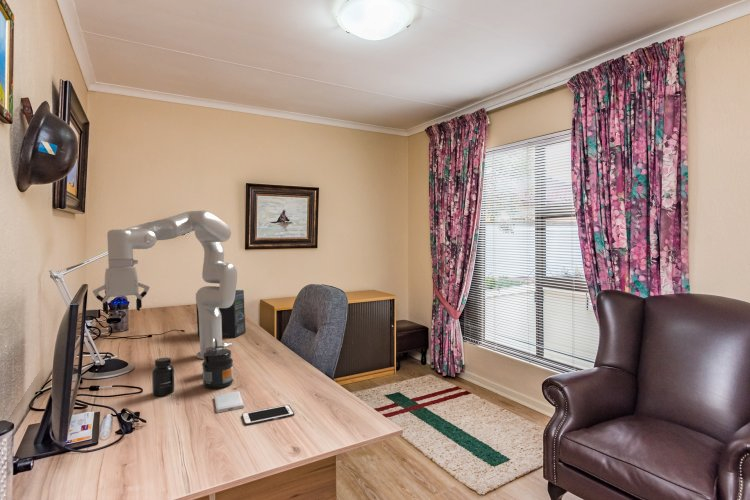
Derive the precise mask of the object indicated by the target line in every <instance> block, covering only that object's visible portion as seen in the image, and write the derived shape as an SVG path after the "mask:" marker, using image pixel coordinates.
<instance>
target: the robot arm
mask: <svg viewBox="0 0 750 500" xmlns="http://www.w3.org/2000/svg"><path fill="white" fill-rule="evenodd" d="M191 232H194V236H195V237H196V240H198V241H199V243H200V244H201V246H202V248H203V252H204V253H203V254H204V255H203V264H202V273H201V277H202V280H203V281H204V282H205V283H207V284H208V283H209V284H219V286H214V285H206V286H202V287H200V288H198V290H197V291H196V293H195V302H196V303H197V307H198V312H199V336H200V337H199V351H198V352H197V353H196V358H197V359H199V360H204V359H203V354H204V353H205V349H206V348H208V347H212V339H214V346H215V339H217V346H223V347H224V349H228V348H232V347H233V344H232V342H229V343H226V342H225V343H224V342H223V337H222V318H221V313H220V310H219V308H229V307H230V306H231V305H232V304H233V302H234V299H235V293H236V290H237V284H238V283H237V282H238V270H237V268H236V266H235V265H234V264H233V263H230V262H224V261H225V260H224V259H225V250H224V248H223V247H224V246H223V245H222V244H221V243H225V242H227V241H229V239H231V237H232V230H231V227H230V226H229V225H228V224H227V223H226V222H224V221H223V220H222V219H220V218H219V217H217V216H216V215H215V214H213V213H211V212H209V211H207V210H190V211H185V212H181V213H178V214H174V215H172V216H169V217H165V218H162V219H157V220H153V221H149V222H145V223H141V224H137V225H133V226H130V227H127V228H124V229H118V228H117V229H110V230H108V231H107V234H106V236H107V240H106V241H107V257H108V258H107V259H108V260H107V261H108V263H107V264H108V267H107V268H105V271H104V273H105V274H104V284H102V285H101V286H99V287H97V288H95V289H93V290H92V293H93V295H94V296H95V298H96V299H97V300H99V301H100V303H102V312H104V313H105V315H108V314H109V302H108V301H109V299H110V298H113V297H115V298H117V297H126V296H135V297H136V299H135V302H136V304H135V305H136V311H138V312H139V311H141V309H142V307H143V303H142V302H143V301H142V299H143V298H144V297H146V295H147V293H148V292H149V290H150V288H151V287H150V285H149V286H148V285H146V284H143V283H140V282H139V277H138V272H137V267H135V265H136V264H137V265H138V263H139V261H138V259H134V250H146V249H151V248H153V247H154V246H155V245H156V242H157V241H166V240H172V239H176V238H177V237H181V236H183V235H185V234H188V233H191ZM139 288H141V289H142V288H143V291H142V292H141V293H139ZM103 290H104V297H103V296H101V295H100V292H102V291H103ZM196 303H195V304H196ZM197 307H196V308H197Z"/></svg>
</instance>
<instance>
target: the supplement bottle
mask: <svg viewBox="0 0 750 500" xmlns="http://www.w3.org/2000/svg"><path fill="white" fill-rule="evenodd" d="M154 362H155V363H154V366H155V367H153V369H152V371H151V379H152V381H151V383H152V388H151V390H152V395H153V396H154V397H158V398H159V397H166V396H169V395H172V394H173V393H174V392H175V368H174V367H175V366H173V365H172V362H171V357H159V358H157V359H155V360H154Z"/></svg>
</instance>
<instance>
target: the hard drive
mask: <svg viewBox="0 0 750 500" xmlns="http://www.w3.org/2000/svg"><path fill="white" fill-rule="evenodd" d="M213 398H214V405H215V411H216V413H217V414H218V413H222V412H223V413H225V412H230V411H235V410H240V409H245V405H244V402H243V401H244V400H243V398H242V395H241V392H240V391H232V392H225V393H221V394H216V395H214V397H213Z"/></svg>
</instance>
